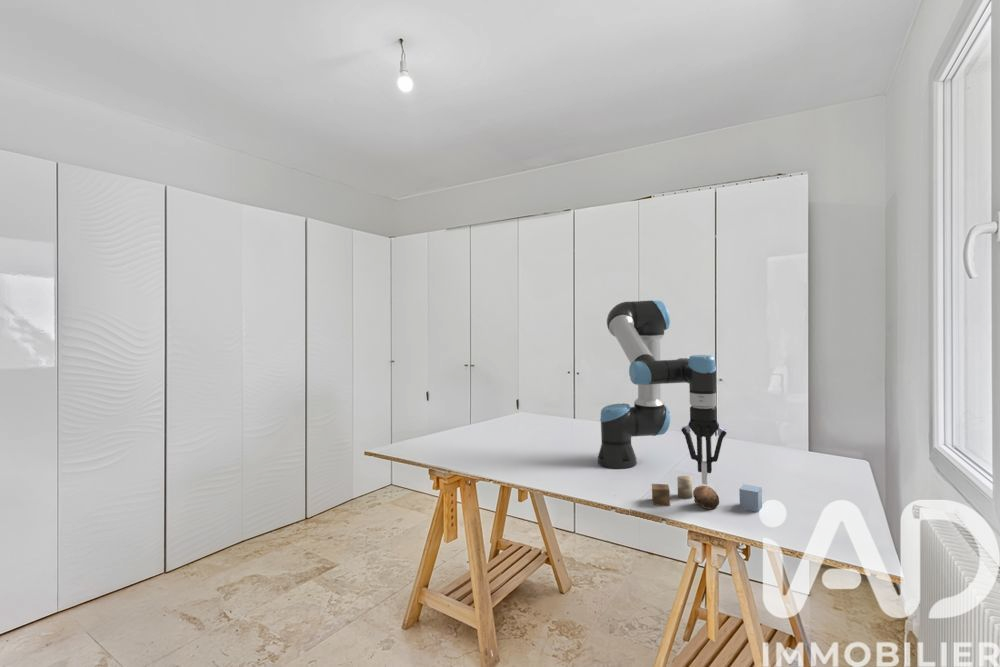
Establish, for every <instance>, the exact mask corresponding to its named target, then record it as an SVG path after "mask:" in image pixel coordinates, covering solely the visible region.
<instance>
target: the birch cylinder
mask: <svg viewBox="0 0 1000 667" xmlns="http://www.w3.org/2000/svg"><path fill="white" fill-rule="evenodd" d="M676 479H677V480H676V481H677V496H678V498H680V499H684V500H691V499H693V498H694V496H693V478H692V477H691V476H688V475H679V476H677V478H676Z"/></svg>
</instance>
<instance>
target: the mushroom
mask: <svg viewBox="0 0 1000 667" xmlns="http://www.w3.org/2000/svg"><path fill="white" fill-rule="evenodd" d="M692 496H693V498H694V503H695V504H697V505H700V506H701V507H703V508H704V509H708V510H714V509H716V508H717V507H718V506H719V505H720V497H719V495H718V493H717V492H716V491H715V490H714V488H712V487H710V486H708V485H704V484H701V485H698V486H696V487H695V488H694V490H692Z"/></svg>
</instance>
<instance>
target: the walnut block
mask: <svg viewBox="0 0 1000 667" xmlns="http://www.w3.org/2000/svg"><path fill="white" fill-rule="evenodd" d="M670 492H671V491H670V487H669V484H665V483H663V484H662V483H651V500H652V505H653V506H664V507H665V506H671V496H670V495H671V494H670Z"/></svg>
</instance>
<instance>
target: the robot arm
mask: <svg viewBox="0 0 1000 667" xmlns="http://www.w3.org/2000/svg"><path fill="white" fill-rule="evenodd" d="M670 325H671V315H670V312H669V308H668V307H667V305H666V304H665V302H664V301H662V300H652V299H651V300H639V301H638V300H637V301H623V302H620V303H617V304H616V305H615V306H614V307H613V308H612V309H611V310H610V311H609V312H608V314H607V318H606V326H607V329H608V331H609V333H610V334H611V336H613V337H614V338H616V340H617V341H618V343H619V345H620V347H621V348H622V350H623V352H624V354H625V356H626V358H627V359H628V361H629V363H630V364H629V369H628V374H629V377H630V381H631V383H632V384H634V385H637V398H636V399H635V400H634V401H633V403H634V404H633V405H634V406H630V404H629V403H624V402H623V403H613V404H609V405H605V406H603V407H602V408H601V410H600V418H599V420H600V434H601V438H600V439H601V445H600V448H599V452H598V456H597V464H598V465H599V466H600V467H601V466H602V467H605V468H607V469H608V468H609V469H610V468H611V469H629V468H633V467H635V466H637V464H638V463H637V456H636V454H635V451H634V448H633V445H632V437H649V436H650V437H651V436H653V437H655V436H656V437H657V436H662V435H665V434H666V433H667V432H668V430H669V428H670V424H671V414H670V413H671V412H670V409H669V407H668V406H667V405H665V402H664V401H663V400H662V398H661V385H662V384H682V383H683V384H684V383H687V384H689V405H690V407H689V417H690V418H689V422H688V424H687V425H685V426H682V428H681V429H680V431H681V432H682V434H683V436H684V437H685V438H684V439H685V441H686V444H687V449H688V452H689V456H690V458H691V460H694V461H696V462H697V471H698V473H701V485H705V486H708V484H709V474H711V473H712V470H713V469H712V468H713V467H712V464H713V463H714V462H715V463H716V462H717V461H718V459H719V456H720V452H721V447H722V443H723V440H724V438H725V436H727V433H728V432H727V429H724V428H722V427H720V425H719V423H718V414H717V413H718V410H717V407H716V406H717V404H718V403H717V402H718V401H717V366H716V358H715V357H714V356H713V355H711V354H709V355H707V354H694V355H693V354H692V355H690V356H689V357H688V358H687V357H684V358H683V357H681V358H680V357H678V358H677V359H666V360H664V359H663V360H661V339H662V338H663V337H664V336H665V331H666V330H668V329H669V328H670ZM691 431H692V432H693V434H694V435H695V436H696V449H695V446H694V443H693V439H692V435H691ZM716 432H717V435H718V437H717V442H716V446H715V450H714V453H713V456H712V437H713V435H714V434H716ZM703 437H704V438H705V450H706V451H705V454H706V455H705V459H706V460H704V457H703V456H704V455H703Z"/></svg>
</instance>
